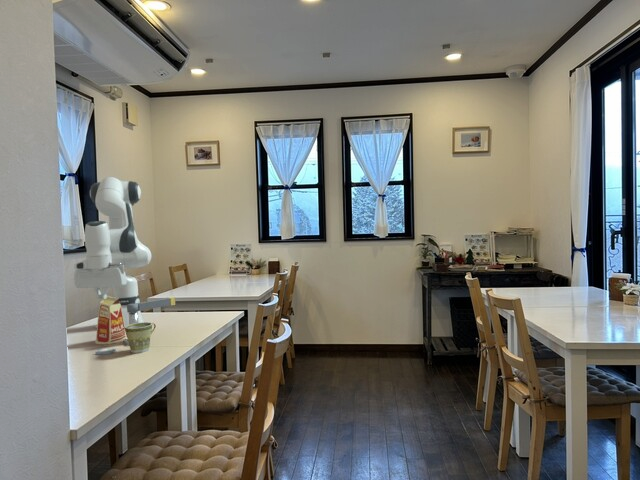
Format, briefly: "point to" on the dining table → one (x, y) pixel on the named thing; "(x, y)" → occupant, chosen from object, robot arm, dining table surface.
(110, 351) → the label plate
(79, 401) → the dining table surface
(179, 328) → the dining table surface
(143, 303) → the swing arm
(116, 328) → the milk carton
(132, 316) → the post
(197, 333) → the dining table surface
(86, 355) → the dining table surface
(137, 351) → the ceramic cup
